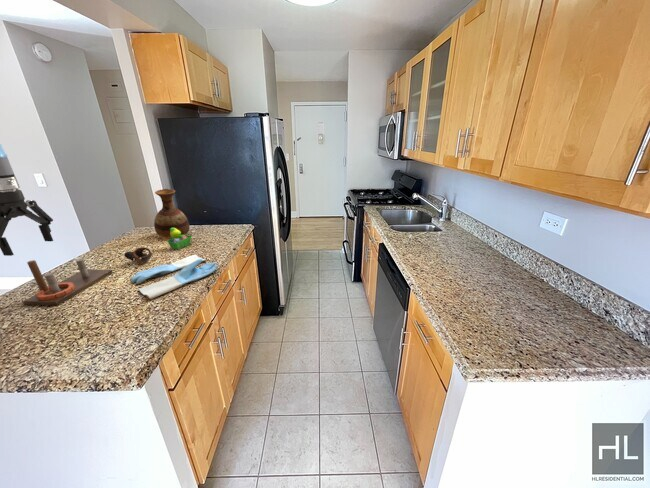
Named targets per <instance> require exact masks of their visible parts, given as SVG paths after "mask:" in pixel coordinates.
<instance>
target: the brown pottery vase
mask: <svg viewBox="0 0 650 488" xmlns="http://www.w3.org/2000/svg"><path fill="white" fill-rule="evenodd" d="M175 193H176V190H175V189H174V188H162V189H158V190H155V192H154V194H155V195H157V196H158V197H159V198H160V200H161V203H162V208H161V209H160V210H158V212H157V213H156V214H155V217H154V221H153V226H154V227H153V228H154V231H155V233H156V234H157V236H159V237H163V238H172V237H171V235H170V229H171V228H176V229H177V230H179V231H180V232H181V235H187V234H188V232H189V231H190V222H189V219H188V217H187V215H185V213H184V212H183V211H181V210H180V209H179V208H177V207H175V206H174V201H173V200H174V199H173V197H174V194H175Z"/></svg>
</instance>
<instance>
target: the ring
mask: <svg viewBox="0 0 650 488" xmlns="http://www.w3.org/2000/svg"><path fill="white" fill-rule="evenodd" d="M26 264H27V266H28V268H29V270H30V272H31V274H32V276H33V278H34V280H35V283H36V285H37V286H38V289H39V290H37V292H36V293H35V295H36V297H37V298H38V299H39V300H46V299H47V300H48V299H53V298H56V297H60V296H63V295H65V294H68V293H69V292H71V291H72V290H74V288H75V286H74V284H73V283H71V282H65V283H59V282H57V283H58V286H59V288H60V287H68V288H67V289H65V290H63V291H61V292H58V293H55V294H50V295H43V294H44V293H46V292H48V291H50V290H51V289H50V287H49V285H48V284H47V282H46V279H45V277H44V275H43V274H42V272H41V270H40V267H39V265H38V263H37V261H36V260H34V259H33V260H29V261H27V262H26Z"/></svg>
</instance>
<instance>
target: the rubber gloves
mask: <svg viewBox="0 0 650 488" xmlns="http://www.w3.org/2000/svg"><path fill="white" fill-rule="evenodd" d="M206 261H207V259H206V258H202V257H200V256H198V255H197V254H192V255H189V256H186V257H184V258H181V259H179V260H177V261H173V262H172V263H169V264H167V263H164V264H160V265H156V266H154V267H150V268H148V269H144V270H141V271H138V272H136V273H134V275H133V276H132V277H130V281H129V283H132V284H133V283H136V284H137V285H139V284H142V283H143V282H144V281H146V280H148V279H149V278H156V277H160V276H165V275H166V274H169V273H172V272H176V271H178V272H177V273H176V274H174V275H172V276H170V277H167V278H164V279H162V280H159V281H157V282H153V283H152V284H149V285H146V286H142V287H140V288H138V290H139V292H140V293H141V294H142V296H145V297H146V298H147V299H149V300H152V299H154V298H157V297H159V296H162V295H165V294H166V293H170V292H171V291H173V290H176V289H178V288H180V287H182V286H184V285H187V283H192V282H194V281H198V280H200V279H203V278H205V277H207V276H209V275H211V274H212V273H214V272H216V271H217V269H218V268H219V265H217V264H216V262H214V261H212V262H206ZM202 262H206V263H204V264H203V265H202V266H200V267H198V266H199V265H201V264H202Z"/></svg>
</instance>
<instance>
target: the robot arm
mask: <svg viewBox="0 0 650 488" xmlns="http://www.w3.org/2000/svg"><path fill="white" fill-rule="evenodd" d="M20 188H21V186H20V185H19V181H18V179H17V177H16V175H15V172H14V170H13V167H12V165H11V163H10V159H9V158H8V154H7V153H6V152H5V150H4V148H3V146H2V144H0V251H1V253H2V254H3V256H5V257H12V256H15V255H14V252H13V250H12V247H11V246H10V244H9V242H8V240H7V237H5V236H4V234H5V232H6V229H7V227H8V225H9V223H10V222H11V220H12V219H15V218H18V217H23V216H24V217H26V218H28V219H30V220H31V221H34V222H35V223H38V224H39V225H38V228H39V231H40V233H41V234H42V237H43V241H44V242H54V238H53V236H52V234H51V232H52V229H51V227H50V225H51V224H52V222H53V221H54V219H53V218H52V217H51V216H50V215H49V214H48V213H46V212H45V210H43V209H42V208H41V207H40V206H39V204H38V203H37V201H36V200H34V199H33V200H32V199H31V200H30V199H29V200H28V199H27V200H26V197H25V196H24V193H23V191H22V190H21V189H20ZM25 200H26V201H25ZM28 208H29V209H30V210H29V209H28ZM3 236H4V237H3Z"/></svg>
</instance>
